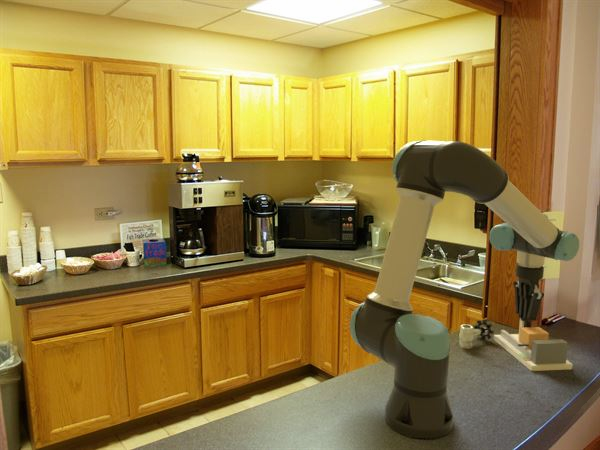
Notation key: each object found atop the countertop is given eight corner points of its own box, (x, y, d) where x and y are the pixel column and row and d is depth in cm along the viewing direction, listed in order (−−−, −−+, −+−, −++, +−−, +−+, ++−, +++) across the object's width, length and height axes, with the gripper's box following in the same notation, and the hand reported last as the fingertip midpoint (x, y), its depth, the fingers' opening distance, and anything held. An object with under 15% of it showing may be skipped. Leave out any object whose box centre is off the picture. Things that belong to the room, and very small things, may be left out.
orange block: (518, 354, 145) (519, 334, 144) (508, 346, 150) (510, 327, 149) (557, 352, 146) (559, 333, 145) (546, 345, 151) (548, 326, 150)
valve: (470, 352, 151) (493, 342, 158) (472, 331, 150) (495, 322, 157) (452, 344, 156) (475, 335, 163) (453, 324, 155) (476, 316, 162)
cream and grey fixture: (531, 370, 138) (533, 345, 137) (493, 339, 160) (495, 317, 159) (572, 369, 139) (574, 343, 138) (529, 338, 161) (531, 315, 160)
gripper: (555, 270, 143) (547, 347, 147) (530, 259, 156) (524, 330, 160) (530, 270, 142) (523, 348, 146) (507, 259, 155) (501, 331, 159)
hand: (523, 339), depth 153 cm, fingers closed
